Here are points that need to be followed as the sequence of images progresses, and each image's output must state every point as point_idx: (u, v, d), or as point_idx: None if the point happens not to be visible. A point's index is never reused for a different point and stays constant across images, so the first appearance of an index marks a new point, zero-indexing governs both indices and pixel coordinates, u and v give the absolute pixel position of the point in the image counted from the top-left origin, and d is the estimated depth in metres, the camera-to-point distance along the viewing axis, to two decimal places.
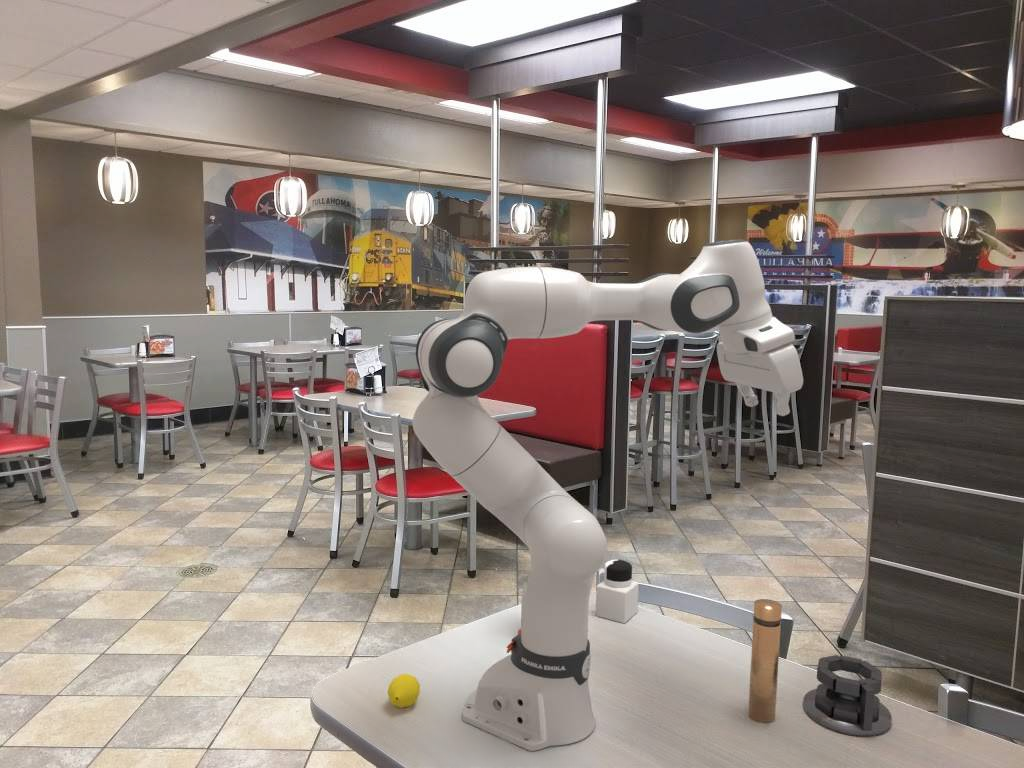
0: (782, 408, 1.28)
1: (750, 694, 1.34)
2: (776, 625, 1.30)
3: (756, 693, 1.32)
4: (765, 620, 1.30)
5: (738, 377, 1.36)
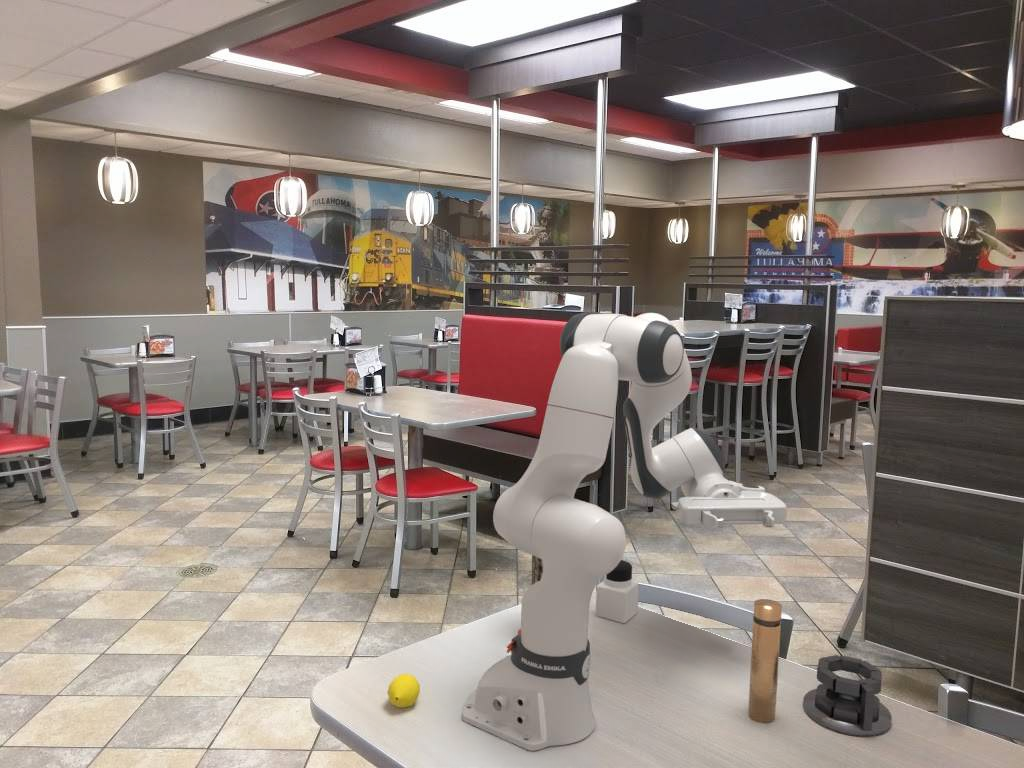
0: None
1: (750, 694, 1.34)
2: (776, 625, 1.30)
3: (756, 693, 1.32)
4: (765, 620, 1.30)
5: (715, 504, 1.48)
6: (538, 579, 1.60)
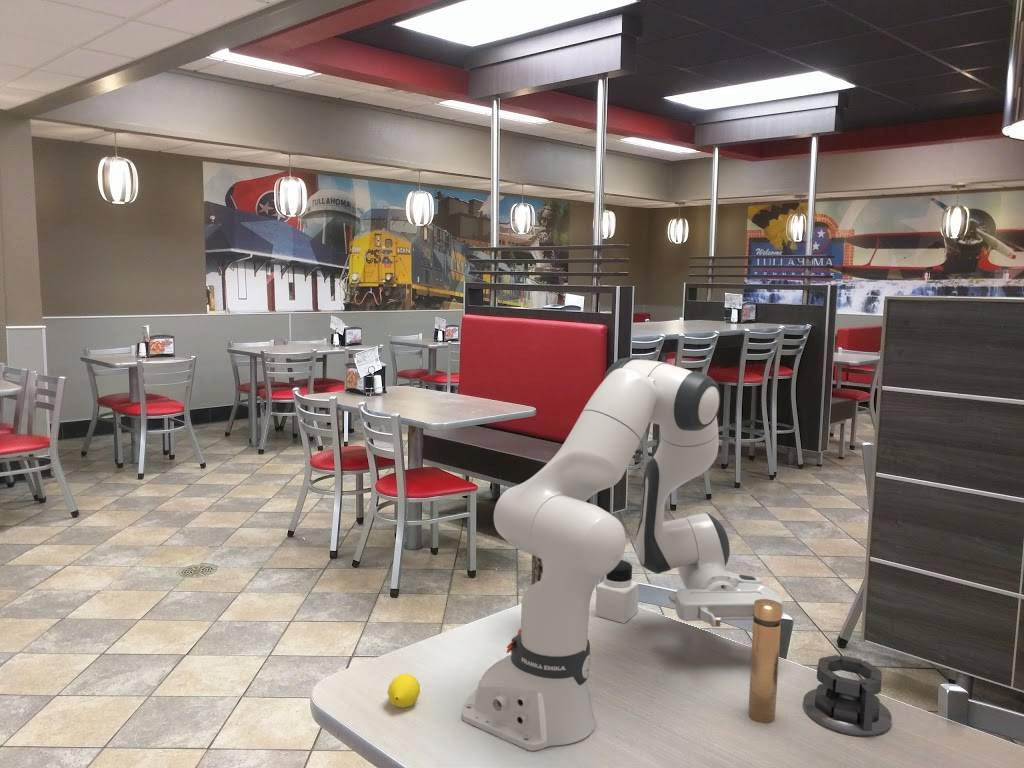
0: None
1: (750, 694, 1.34)
2: (776, 625, 1.30)
3: (756, 693, 1.32)
4: (765, 620, 1.30)
5: (712, 600, 1.49)
6: (538, 579, 1.60)
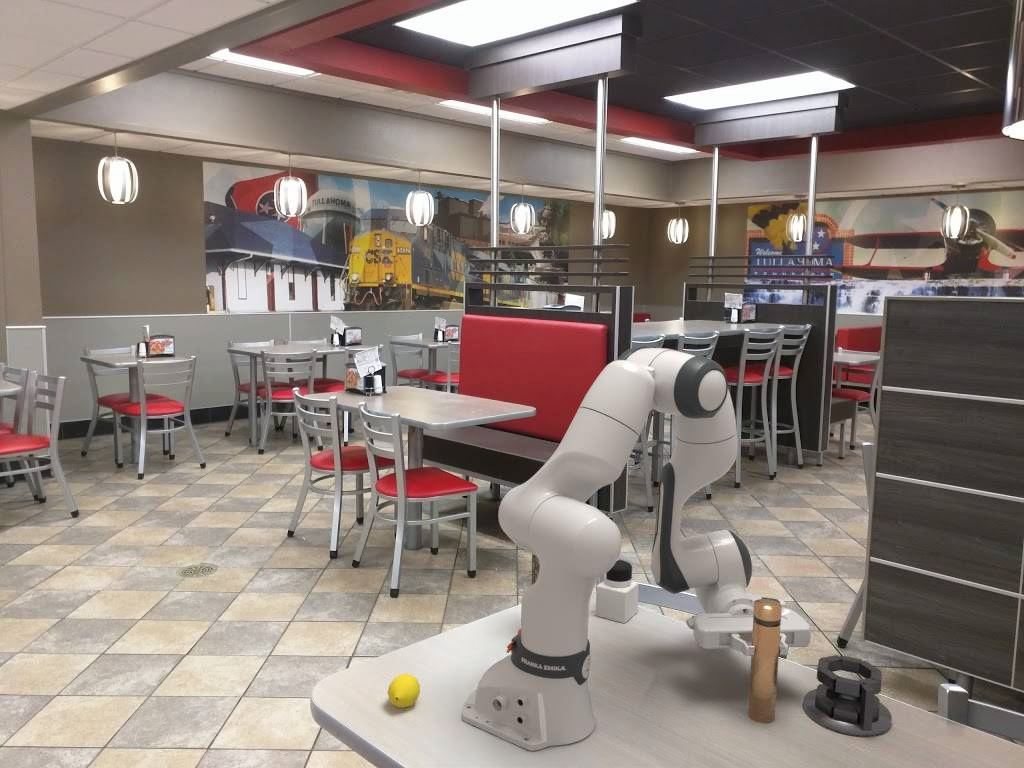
0: None
1: (750, 694, 1.34)
2: (776, 625, 1.30)
3: (756, 693, 1.32)
4: (765, 620, 1.30)
5: (734, 626, 1.37)
6: None
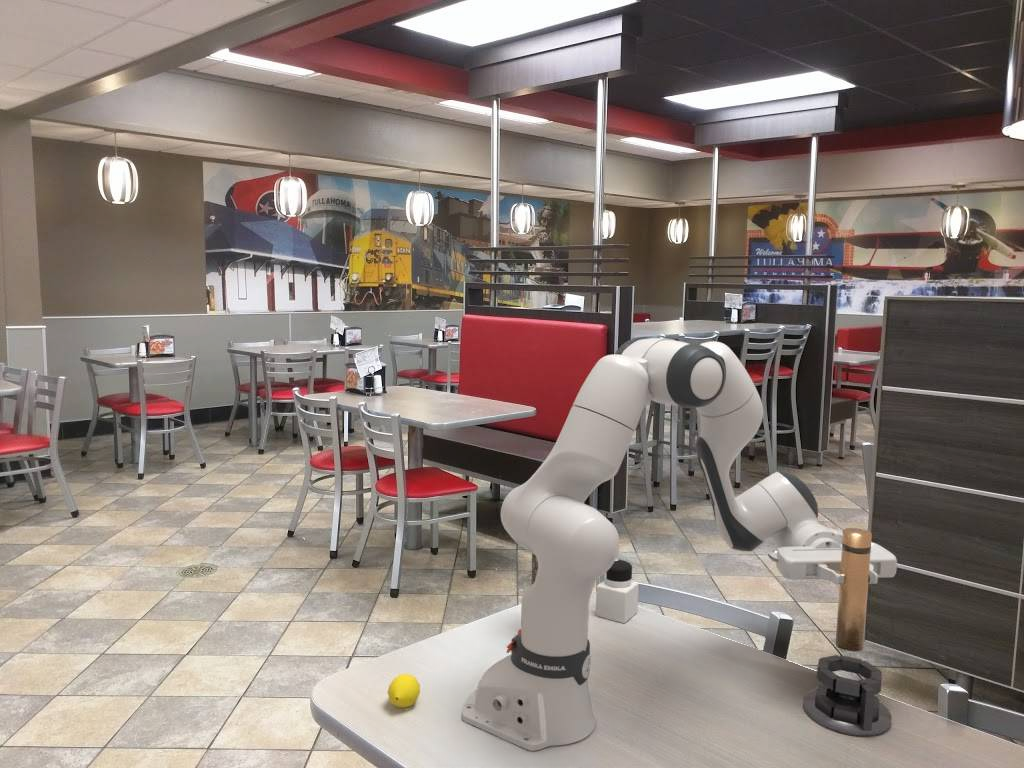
0: None
1: (838, 623, 1.33)
2: (867, 552, 1.30)
3: (846, 621, 1.32)
4: (856, 547, 1.29)
5: (819, 557, 1.37)
6: None
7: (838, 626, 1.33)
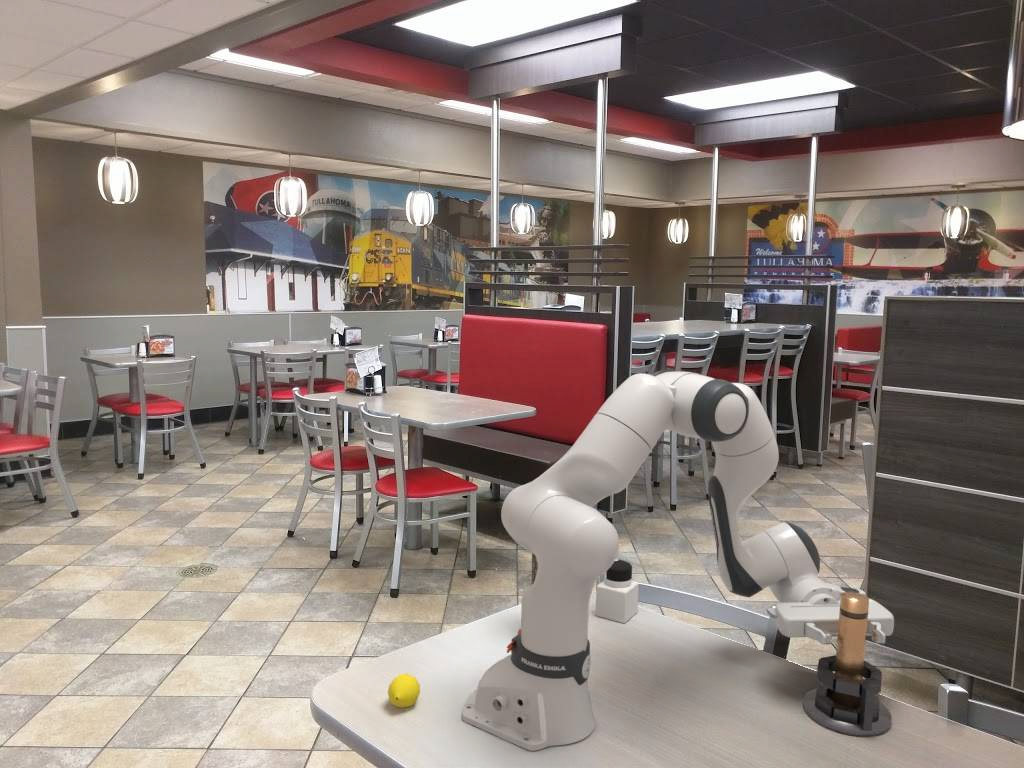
0: None
1: None
2: (864, 617, 1.31)
3: None
4: (853, 612, 1.31)
5: (817, 614, 1.38)
6: None
7: None
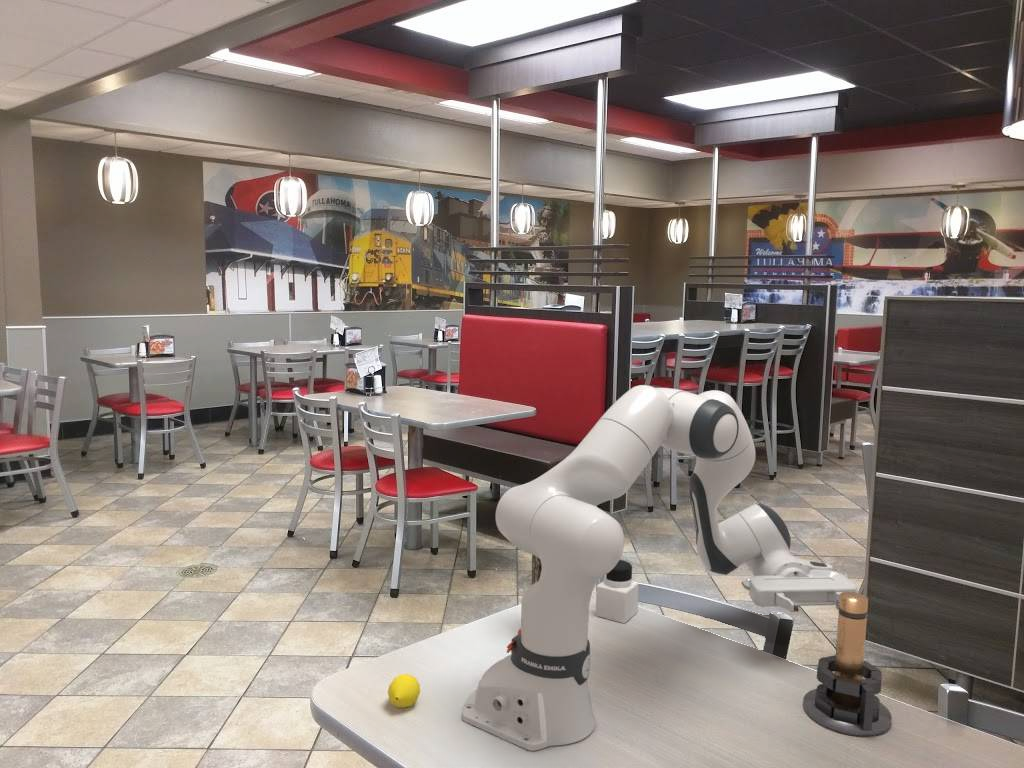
0: None
1: None
2: (863, 617, 1.31)
3: None
4: (853, 612, 1.31)
5: (787, 586, 1.51)
6: (538, 579, 1.60)
7: None
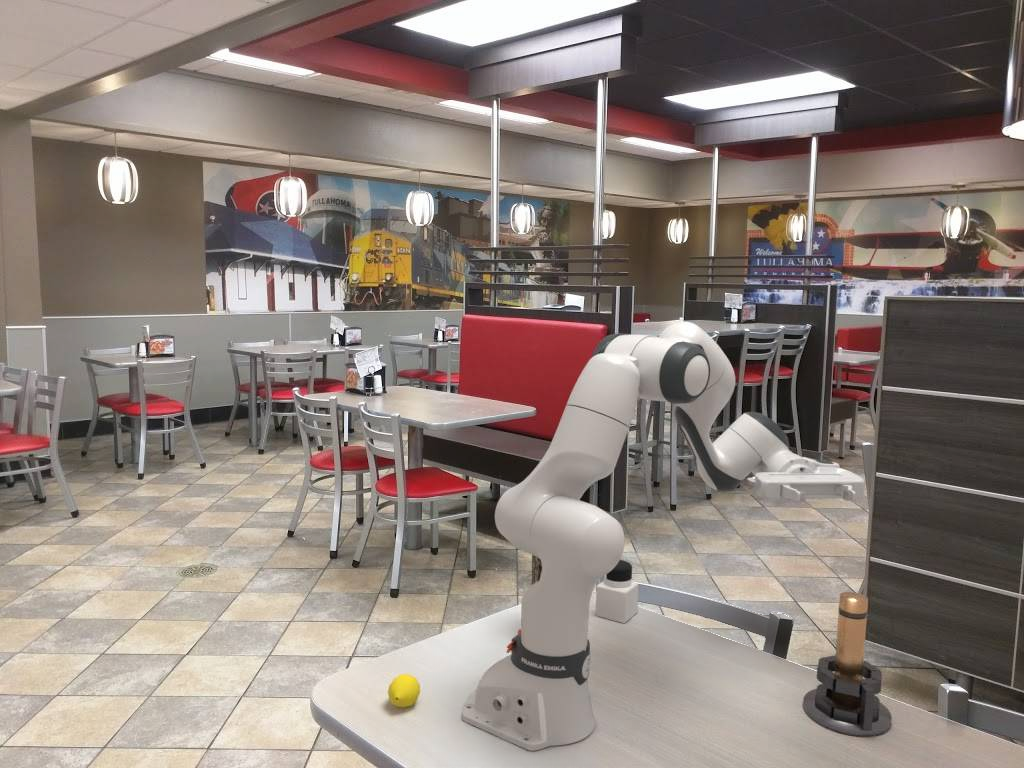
0: None
1: None
2: (863, 617, 1.31)
3: None
4: (852, 612, 1.31)
5: (793, 479, 1.48)
6: (538, 579, 1.60)
7: None
